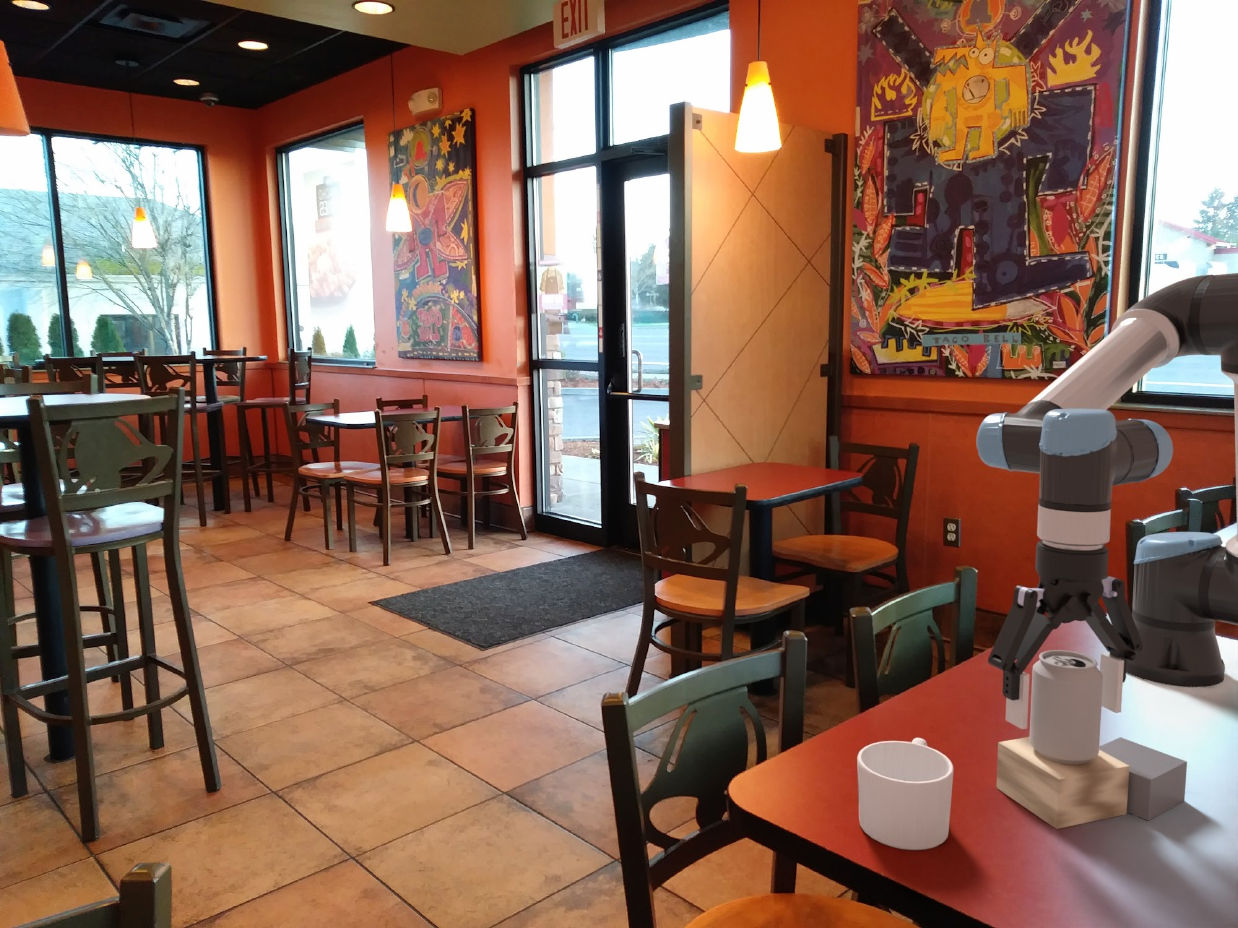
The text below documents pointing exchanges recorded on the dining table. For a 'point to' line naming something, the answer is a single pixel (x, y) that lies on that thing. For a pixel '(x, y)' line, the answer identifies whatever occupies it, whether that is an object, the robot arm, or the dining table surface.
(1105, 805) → the birch block
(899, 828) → the mug
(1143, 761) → the slate block
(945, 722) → the dining table surface
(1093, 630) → the robot arm
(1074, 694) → the can
